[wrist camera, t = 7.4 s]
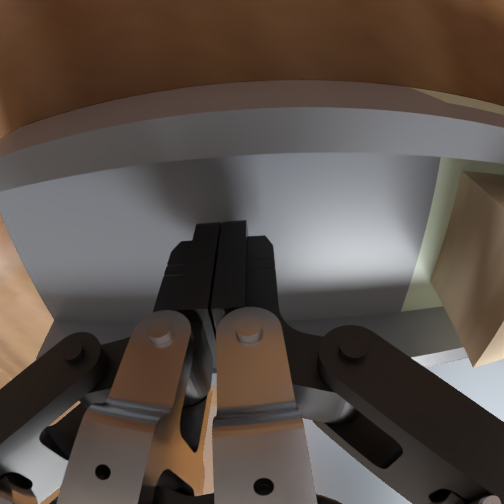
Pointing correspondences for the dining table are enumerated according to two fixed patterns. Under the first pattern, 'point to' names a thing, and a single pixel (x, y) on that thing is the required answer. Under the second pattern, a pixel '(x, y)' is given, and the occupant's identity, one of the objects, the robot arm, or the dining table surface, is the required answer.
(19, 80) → the dining table surface
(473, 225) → the wood block
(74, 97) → the dining table surface
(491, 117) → the channel deck
